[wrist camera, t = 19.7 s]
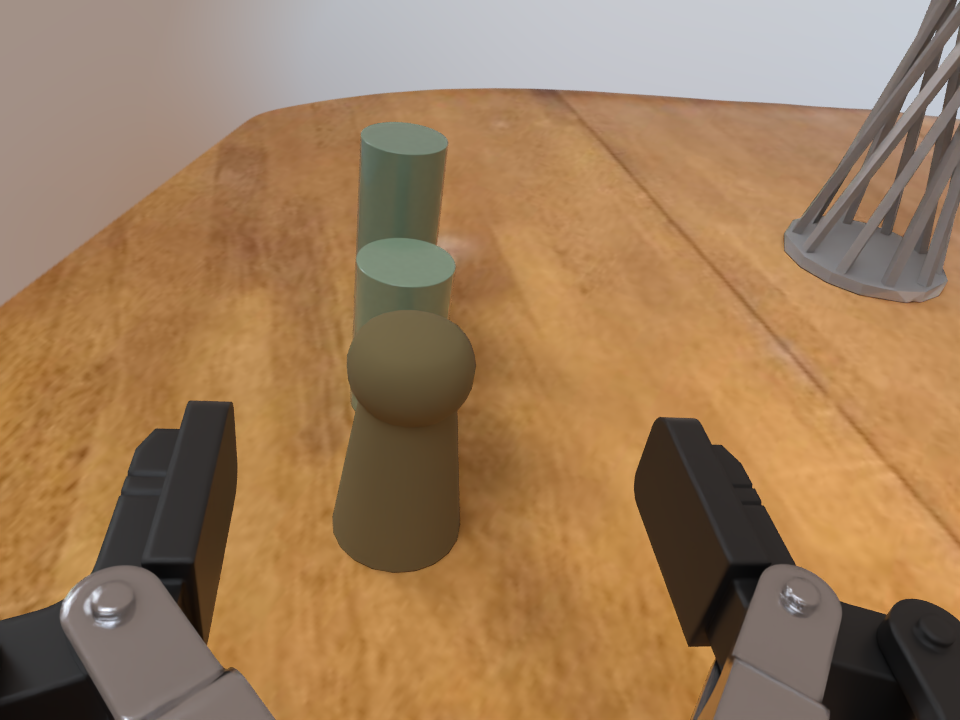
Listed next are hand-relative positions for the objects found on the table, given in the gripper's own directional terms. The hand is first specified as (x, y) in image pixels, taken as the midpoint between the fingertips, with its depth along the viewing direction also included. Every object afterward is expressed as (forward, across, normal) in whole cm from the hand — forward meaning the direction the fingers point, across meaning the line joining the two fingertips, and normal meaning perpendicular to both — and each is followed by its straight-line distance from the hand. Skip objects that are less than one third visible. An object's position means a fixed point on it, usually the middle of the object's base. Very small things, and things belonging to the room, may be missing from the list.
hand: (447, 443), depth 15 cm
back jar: (+32, -1, +18) cm, 37 cm away
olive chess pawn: (+14, -1, +18) cm, 23 cm away
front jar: (+23, -1, +18) cm, 30 cm away
